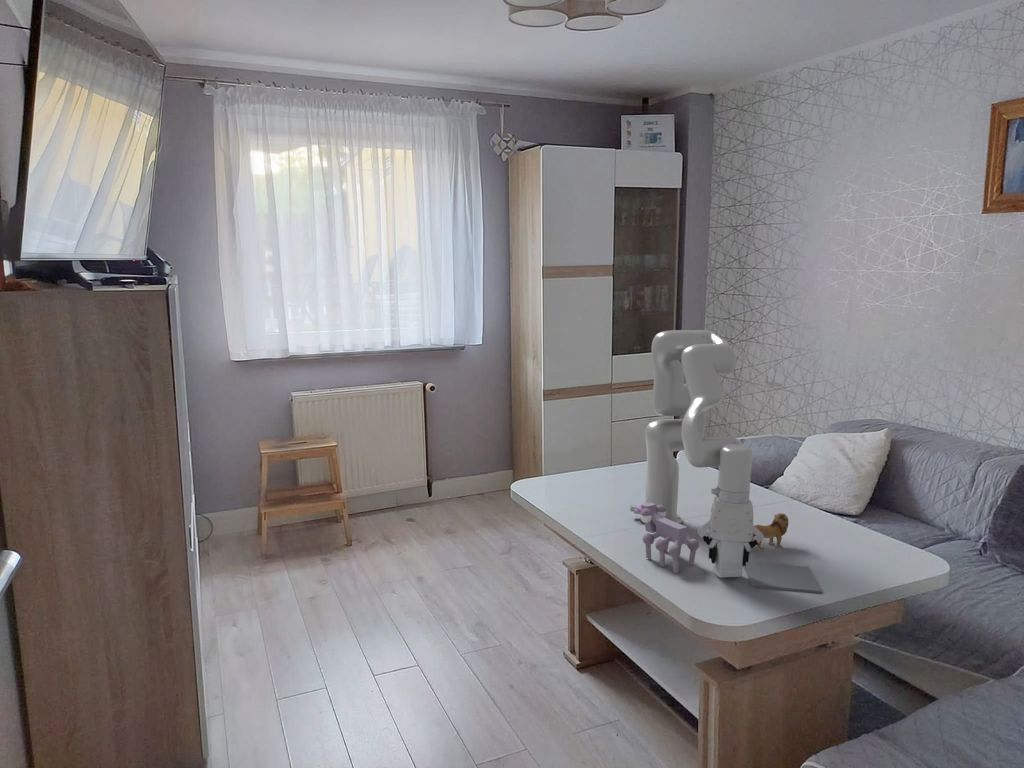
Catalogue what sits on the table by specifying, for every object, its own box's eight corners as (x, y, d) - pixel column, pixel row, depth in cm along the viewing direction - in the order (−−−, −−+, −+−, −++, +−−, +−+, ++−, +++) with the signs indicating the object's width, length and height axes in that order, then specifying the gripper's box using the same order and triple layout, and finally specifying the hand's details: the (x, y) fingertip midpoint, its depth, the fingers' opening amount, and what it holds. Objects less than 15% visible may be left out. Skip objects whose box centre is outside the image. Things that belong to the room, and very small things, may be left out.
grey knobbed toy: (619, 548, 192) (622, 501, 190) (647, 542, 198) (650, 496, 196) (672, 575, 175) (677, 523, 173) (701, 567, 181) (706, 517, 179)
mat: (751, 587, 169) (751, 584, 169) (743, 563, 183) (744, 561, 183) (821, 593, 166) (821, 590, 166) (808, 568, 180) (808, 566, 180)
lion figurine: (776, 539, 199) (779, 509, 198) (791, 545, 195) (794, 515, 193) (738, 548, 193) (740, 517, 191) (753, 555, 188) (755, 523, 186)
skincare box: (735, 569, 177) (738, 524, 175) (742, 577, 173) (746, 532, 170) (711, 570, 176) (715, 525, 174) (718, 578, 172) (722, 532, 170)
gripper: (697, 497, 169) (693, 565, 172) (772, 502, 165) (766, 572, 169) (695, 487, 176) (691, 553, 179) (767, 492, 173) (762, 559, 176)
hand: (728, 562), depth 174 cm, fingers closed on skincare box, 6 cm apart
